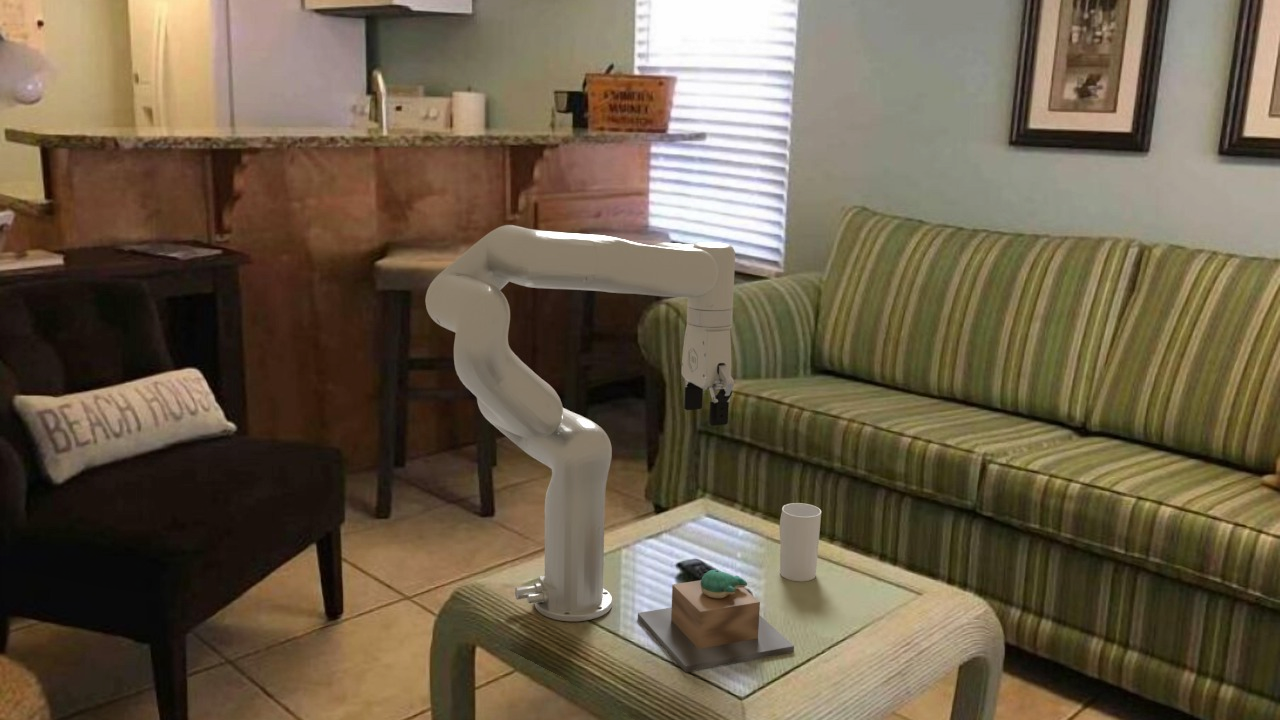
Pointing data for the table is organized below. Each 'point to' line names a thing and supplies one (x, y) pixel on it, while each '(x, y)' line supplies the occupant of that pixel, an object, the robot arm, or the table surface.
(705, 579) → the whale figurine
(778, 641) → the display plinth
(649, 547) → the table surface
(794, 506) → the mug
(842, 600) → the table surface
